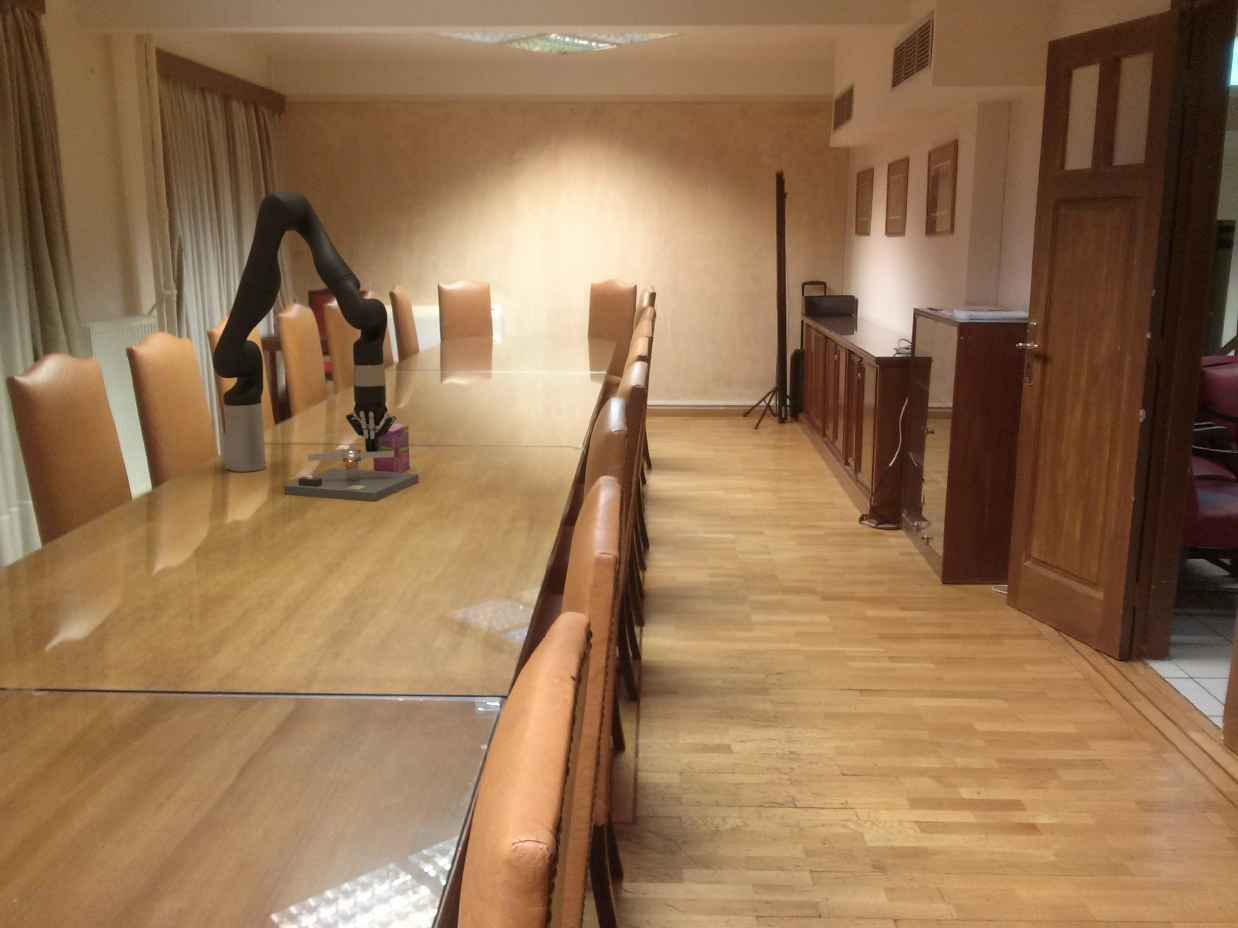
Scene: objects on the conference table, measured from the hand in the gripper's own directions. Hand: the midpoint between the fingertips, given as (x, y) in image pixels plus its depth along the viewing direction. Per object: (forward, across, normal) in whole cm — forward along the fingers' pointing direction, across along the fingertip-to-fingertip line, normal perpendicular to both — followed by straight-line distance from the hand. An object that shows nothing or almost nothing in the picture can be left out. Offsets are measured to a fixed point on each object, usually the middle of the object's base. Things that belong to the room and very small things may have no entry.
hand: (372, 453), depth 264 cm
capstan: (+1, -2, -6) cm, 7 cm away
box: (+8, -2, +13) cm, 16 cm away
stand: (+8, -2, -6) cm, 10 cm away
